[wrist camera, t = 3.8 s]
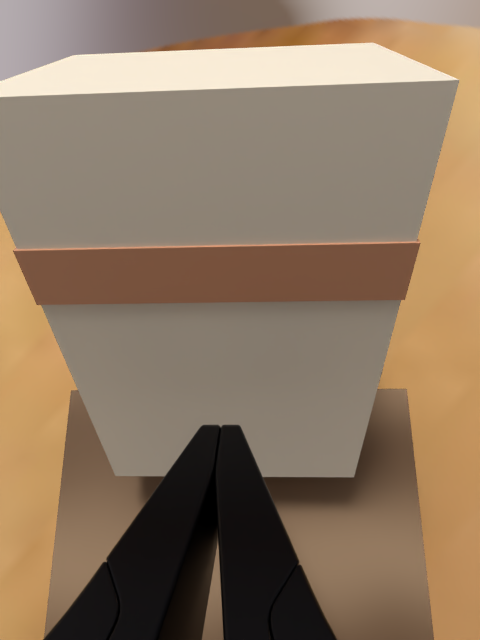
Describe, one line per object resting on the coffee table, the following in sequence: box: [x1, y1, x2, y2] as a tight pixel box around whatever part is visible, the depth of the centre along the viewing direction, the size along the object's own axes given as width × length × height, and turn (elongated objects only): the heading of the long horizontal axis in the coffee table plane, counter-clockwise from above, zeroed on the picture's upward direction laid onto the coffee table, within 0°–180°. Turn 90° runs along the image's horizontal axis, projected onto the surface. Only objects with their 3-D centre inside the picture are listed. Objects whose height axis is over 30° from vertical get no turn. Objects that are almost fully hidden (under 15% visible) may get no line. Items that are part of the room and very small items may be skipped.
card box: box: [0, 43, 459, 477], centre depth 11 cm, size 5×7×10 cm
